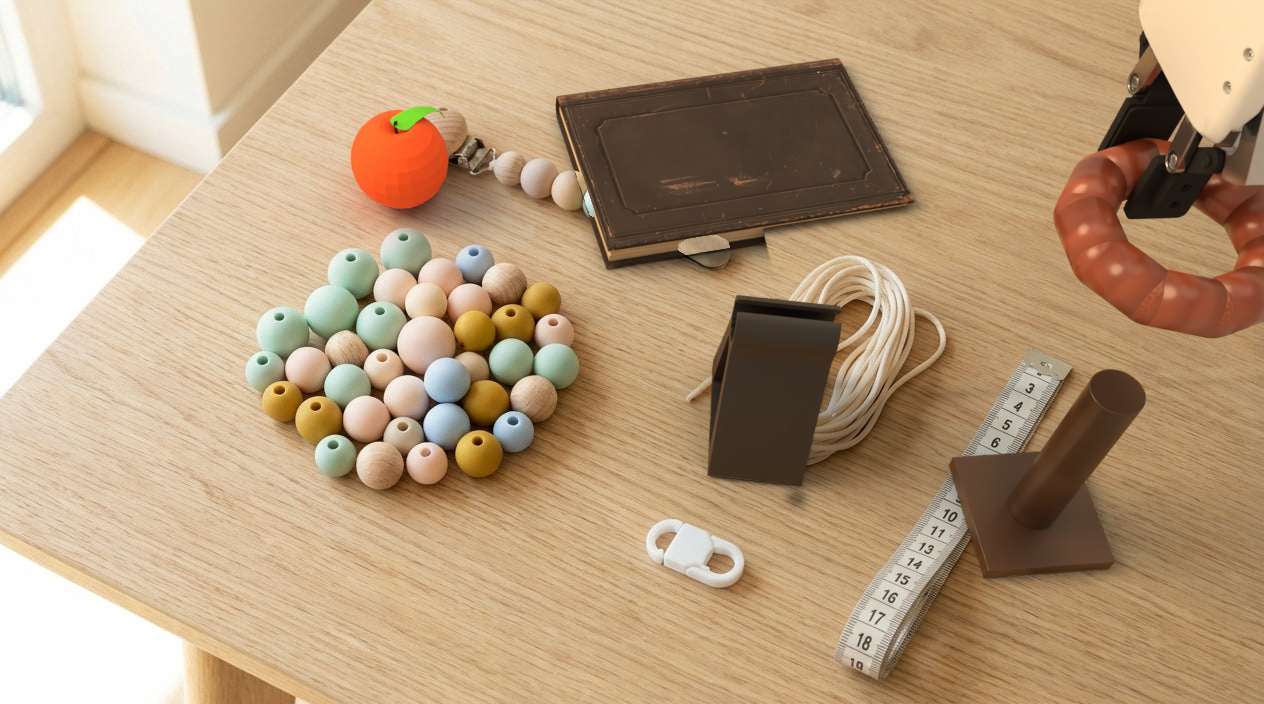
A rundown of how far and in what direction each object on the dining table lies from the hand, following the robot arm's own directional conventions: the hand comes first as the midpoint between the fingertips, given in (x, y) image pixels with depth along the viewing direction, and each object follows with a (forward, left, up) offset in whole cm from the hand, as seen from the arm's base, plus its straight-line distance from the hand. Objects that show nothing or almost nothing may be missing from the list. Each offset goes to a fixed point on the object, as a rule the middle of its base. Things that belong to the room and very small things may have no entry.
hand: (1140, 182), depth 63 cm
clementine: (+39, -22, -22) cm, 50 cm away
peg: (+1, +8, -21) cm, 23 cm away
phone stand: (+17, 0, -22) cm, 27 cm away
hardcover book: (+15, -23, -22) cm, 35 cm away
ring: (0, +4, +1) cm, 4 cm away
